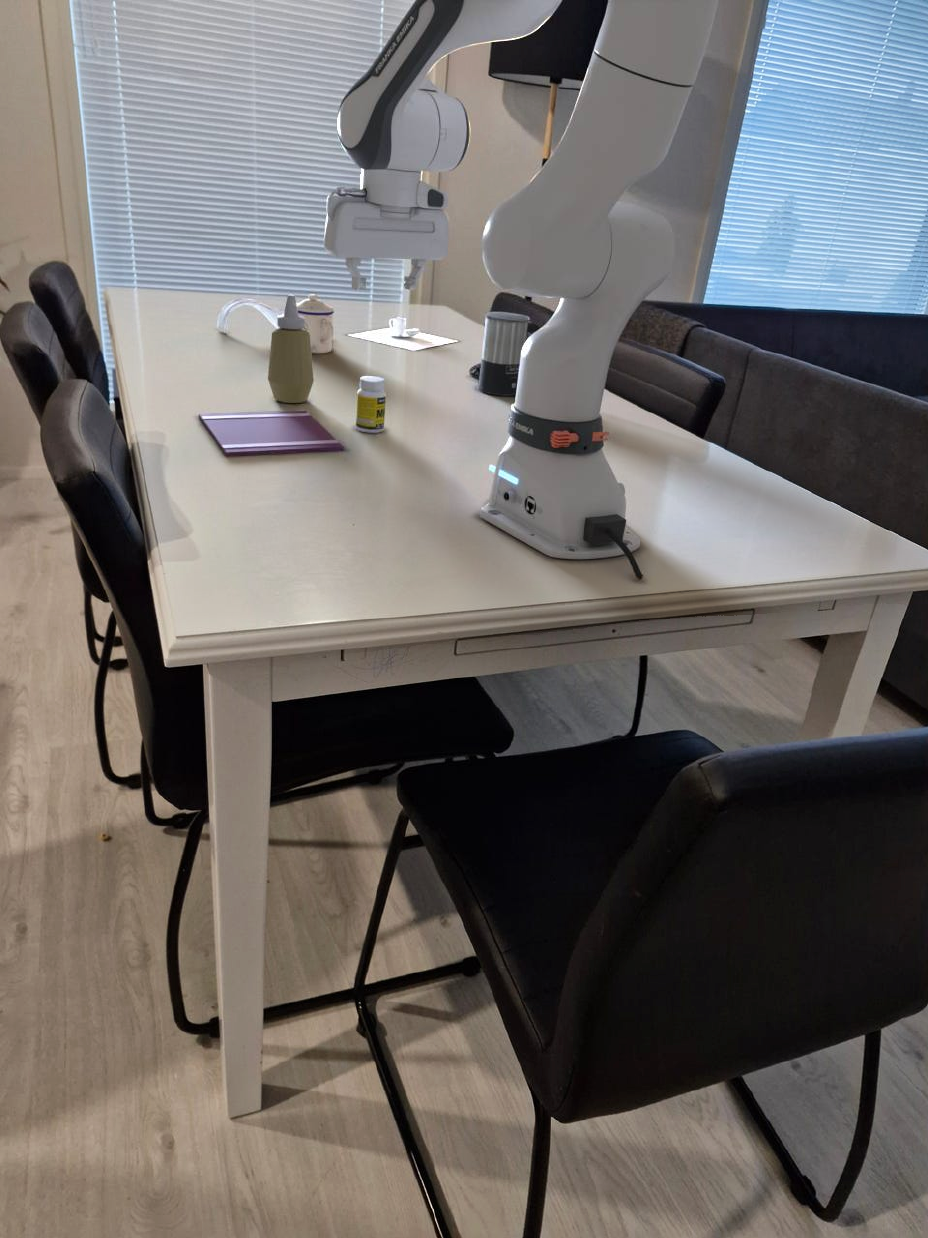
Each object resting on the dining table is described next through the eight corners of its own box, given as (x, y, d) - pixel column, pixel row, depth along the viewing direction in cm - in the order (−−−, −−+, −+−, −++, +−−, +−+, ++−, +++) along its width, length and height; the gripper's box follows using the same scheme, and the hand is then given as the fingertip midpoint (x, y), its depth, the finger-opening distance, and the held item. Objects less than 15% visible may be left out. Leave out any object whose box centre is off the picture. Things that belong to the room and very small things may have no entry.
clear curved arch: (305, 325, 219) (305, 295, 216) (324, 335, 211) (325, 304, 207) (212, 326, 207) (210, 294, 204) (229, 336, 198) (228, 303, 195)
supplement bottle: (379, 435, 144) (382, 383, 140) (351, 430, 144) (353, 379, 140) (387, 427, 148) (390, 377, 144) (360, 423, 149) (362, 373, 145)
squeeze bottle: (258, 399, 156) (256, 292, 147) (286, 391, 162) (286, 289, 154) (295, 408, 153) (295, 300, 144) (322, 400, 159) (324, 296, 151)
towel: (344, 450, 135) (344, 446, 135) (226, 456, 127) (226, 451, 127) (305, 413, 150) (305, 409, 150) (198, 417, 143) (198, 413, 142)
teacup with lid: (283, 346, 196) (283, 291, 190) (318, 343, 201) (319, 290, 196) (313, 358, 188) (314, 301, 183) (348, 355, 194) (350, 300, 188)
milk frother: (504, 399, 173) (513, 321, 166) (441, 381, 181) (448, 306, 174) (542, 389, 183) (552, 316, 176) (481, 373, 191) (489, 302, 184)
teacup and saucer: (423, 336, 220) (425, 320, 219) (405, 340, 214) (406, 323, 212) (395, 330, 224) (396, 314, 222) (377, 333, 218) (377, 316, 216)
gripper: (338, 188, 121) (335, 293, 127) (458, 197, 132) (449, 292, 139) (317, 183, 125) (315, 285, 132) (435, 192, 136) (427, 285, 143)
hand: (384, 289), depth 135 cm, fingers open, 8 cm apart
